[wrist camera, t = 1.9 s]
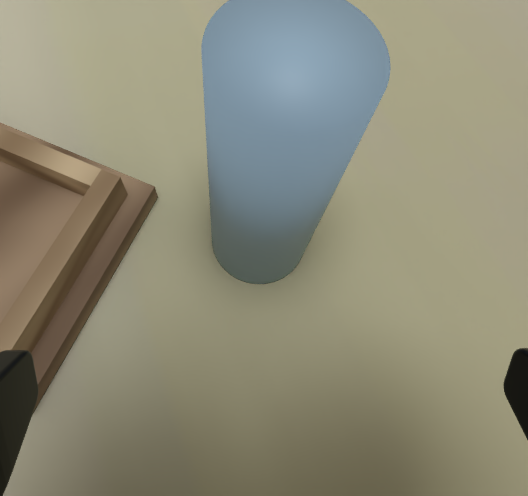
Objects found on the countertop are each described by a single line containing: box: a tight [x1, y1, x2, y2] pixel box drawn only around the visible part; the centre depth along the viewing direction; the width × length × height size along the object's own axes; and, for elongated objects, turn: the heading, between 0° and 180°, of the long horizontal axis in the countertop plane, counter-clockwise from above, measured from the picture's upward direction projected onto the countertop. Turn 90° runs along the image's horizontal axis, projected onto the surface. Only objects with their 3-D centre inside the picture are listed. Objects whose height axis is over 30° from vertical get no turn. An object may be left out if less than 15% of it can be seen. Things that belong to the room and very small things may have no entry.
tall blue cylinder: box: [202, 0, 390, 284], centre depth 17 cm, size 5×5×13 cm
